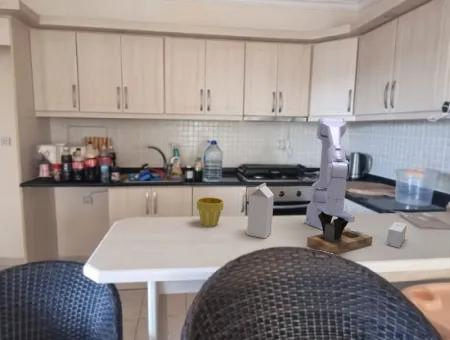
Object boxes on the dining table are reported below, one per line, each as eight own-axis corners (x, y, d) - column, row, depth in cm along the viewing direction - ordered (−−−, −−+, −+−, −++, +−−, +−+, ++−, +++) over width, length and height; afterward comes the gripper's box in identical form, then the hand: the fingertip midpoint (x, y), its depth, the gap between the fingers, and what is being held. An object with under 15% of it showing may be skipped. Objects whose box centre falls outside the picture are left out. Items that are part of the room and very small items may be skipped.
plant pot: (206, 230, 120) (207, 204, 119) (191, 222, 128) (192, 198, 126) (227, 225, 126) (228, 201, 125) (212, 218, 134) (213, 196, 133)
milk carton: (271, 233, 120) (274, 183, 117) (265, 239, 114) (269, 186, 111) (253, 229, 123) (256, 181, 120) (246, 235, 117) (249, 184, 114)
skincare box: (405, 239, 121) (399, 248, 111) (392, 236, 123) (385, 245, 114) (407, 223, 120) (401, 231, 110) (394, 221, 122) (388, 228, 113)
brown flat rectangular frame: (306, 245, 109) (307, 236, 109) (347, 235, 121) (348, 227, 121) (330, 256, 101) (331, 246, 101) (371, 244, 113) (372, 235, 112)
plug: (323, 240, 109) (325, 220, 108) (331, 239, 111) (333, 219, 110) (333, 244, 106) (335, 224, 105) (340, 243, 108) (343, 223, 107)
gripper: (310, 194, 110) (306, 231, 112) (346, 204, 98) (341, 246, 100) (324, 192, 114) (320, 229, 116) (360, 201, 101) (355, 242, 104)
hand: (331, 236), depth 108 cm, fingers closed on plug, 4 cm apart
